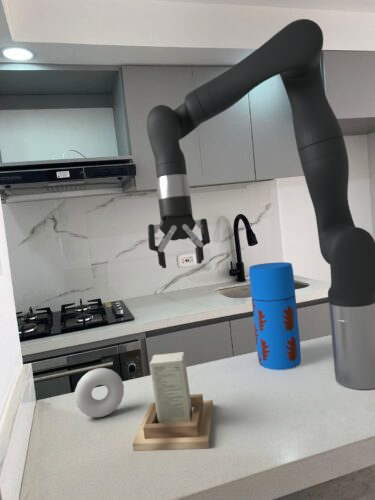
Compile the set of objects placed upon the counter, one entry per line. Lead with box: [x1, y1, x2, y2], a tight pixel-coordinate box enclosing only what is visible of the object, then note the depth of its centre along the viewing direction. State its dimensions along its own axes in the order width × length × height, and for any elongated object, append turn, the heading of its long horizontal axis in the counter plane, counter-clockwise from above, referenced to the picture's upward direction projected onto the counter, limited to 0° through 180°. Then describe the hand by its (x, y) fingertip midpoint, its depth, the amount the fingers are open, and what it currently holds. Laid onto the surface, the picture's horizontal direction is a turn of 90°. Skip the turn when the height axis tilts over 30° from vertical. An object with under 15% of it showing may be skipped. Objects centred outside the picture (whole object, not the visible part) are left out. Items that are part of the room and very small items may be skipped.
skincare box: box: [149, 351, 192, 423], centre depth 67 cm, size 6×4×12 cm
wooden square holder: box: [132, 393, 214, 451], centre depth 67 cm, size 13×14×3 cm
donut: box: [74, 367, 125, 418], centre depth 74 cm, size 10×4×10 cm, turn 109°
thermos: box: [248, 261, 302, 371], centre depth 91 cm, size 11×11×25 cm
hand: (182, 265), depth 84 cm, fingers open, 8 cm apart
